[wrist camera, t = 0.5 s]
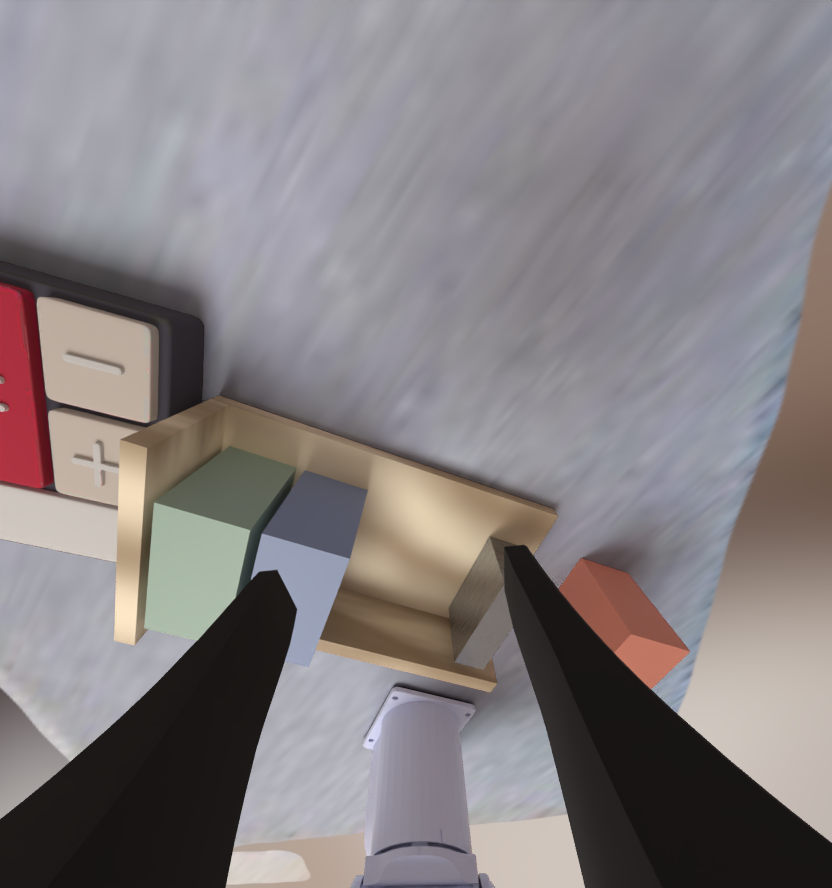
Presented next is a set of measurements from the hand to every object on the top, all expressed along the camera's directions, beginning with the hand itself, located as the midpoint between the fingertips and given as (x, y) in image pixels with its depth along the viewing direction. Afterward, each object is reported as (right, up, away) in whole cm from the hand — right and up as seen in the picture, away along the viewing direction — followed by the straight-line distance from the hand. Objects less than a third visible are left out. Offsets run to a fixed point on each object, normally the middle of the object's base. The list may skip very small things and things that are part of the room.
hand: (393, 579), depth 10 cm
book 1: (-10, 0, +11) cm, 14 cm away
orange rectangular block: (+13, -8, +15) cm, 21 cm away
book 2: (-6, -1, +11) cm, 12 cm away
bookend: (+5, -5, +13) cm, 15 cm away
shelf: (-2, -2, +12) cm, 12 cm away
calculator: (-18, +6, +10) cm, 21 cm away
